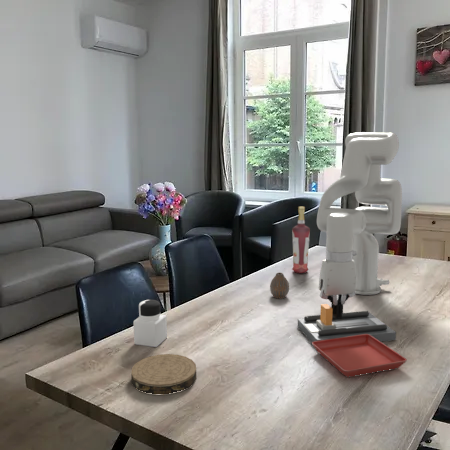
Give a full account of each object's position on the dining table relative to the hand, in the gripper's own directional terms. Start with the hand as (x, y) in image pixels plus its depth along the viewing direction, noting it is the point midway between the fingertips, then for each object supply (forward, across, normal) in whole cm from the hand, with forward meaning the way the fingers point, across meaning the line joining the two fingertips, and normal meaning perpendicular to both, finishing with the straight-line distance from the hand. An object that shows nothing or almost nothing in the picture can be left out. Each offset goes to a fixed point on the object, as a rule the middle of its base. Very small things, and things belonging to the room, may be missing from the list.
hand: (336, 316), depth 148 cm
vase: (+6, +6, -36) cm, 37 cm away
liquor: (+6, -12, -64) cm, 65 cm away
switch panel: (+6, -3, 0) cm, 6 cm away
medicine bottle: (+6, +54, -7) cm, 55 cm away
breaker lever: (+3, +3, 0) cm, 4 cm away
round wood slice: (+6, +52, +16) cm, 55 cm away
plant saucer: (+6, +2, +17) cm, 19 cm away
